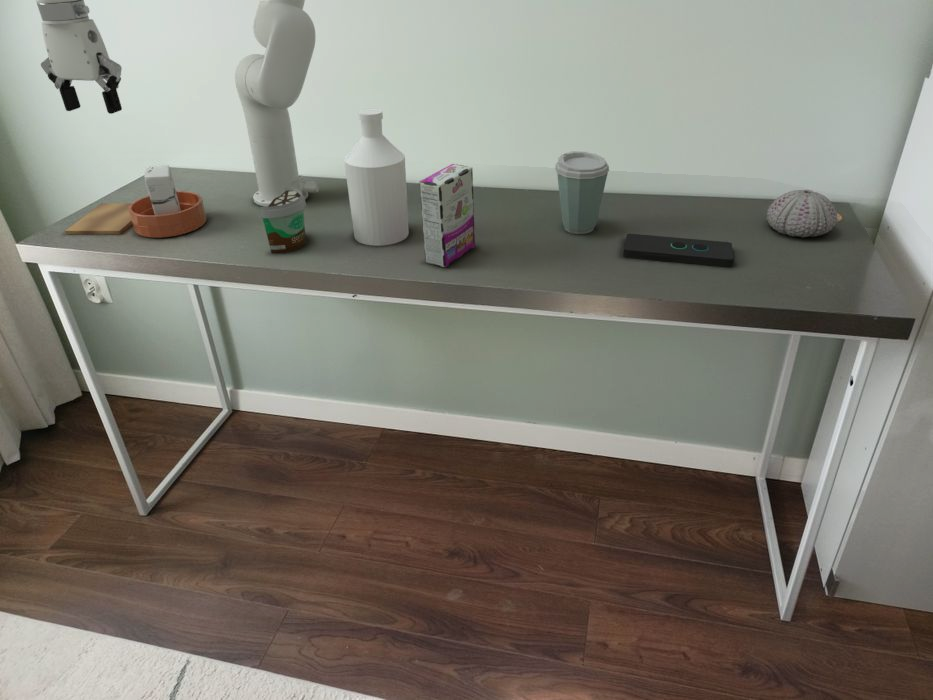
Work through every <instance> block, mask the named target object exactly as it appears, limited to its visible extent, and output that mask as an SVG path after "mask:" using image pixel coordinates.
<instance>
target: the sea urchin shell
mask: <svg viewBox="0 0 933 700" xmlns="http://www.w3.org/2000/svg"><path fill="white" fill-rule="evenodd" d="M766 211H767V213H766V221H767V222H768V224H769V225H770V227H771V228H772V229H773V230H775V231H777V232H778V233H780V234H783V235H788V236H789V237H800V238H803V239H804V238H808V237H811V238H814V237H820V236H822V235H826V234H827V233H829V232H830V231H832V230H833V228H835V227H836V224H837V223H838V221H837V219H838V211H837V210H836V207H835V205H834V204H833V203H832V201H831V200H830V199H829V198H828V197H827V196H825V195H824V194H822V193H819V192H817V191H813V190H810V189H795V190H790V191H788V192H785V193H783V194H781V195H779V196H778V197H777V198H775V200H773V202H771V203H770V205H769V206H768V209H767V210H766Z"/></svg>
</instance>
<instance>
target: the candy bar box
mask: <svg viewBox="0 0 933 700" xmlns="http://www.w3.org/2000/svg"><path fill="white" fill-rule="evenodd" d="M473 173H474V172H473V166H468V165H463V164H458V163H451V164H449V165H447V166H446V167H444V168H442V169H439V170H438V171H436V172H433V173H432V174H431V175H429V176H427V177H425V178H424V179H421V180H419V182H418V183H419V195H420V210H421V219H422V234H423V245H424V247H423V248H424V260H425V261H424V262H425V263H426V264H429V265H432V266H437V267H440V268H447V267H448V266H450V265H451V264H453V263H454V262H455V261H457V260H458V259H461V257H462V256H464V255H465V254H467V253H468V252H469V251H471V250H472V249H473V248H475V247H476V240H475V238H476V237H475V235H476V234H475V209H474V207H475V206H474V179H473V178H474V175H473Z"/></svg>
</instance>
